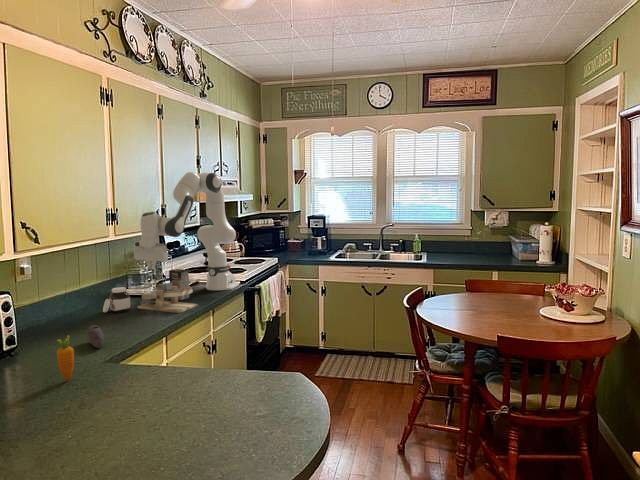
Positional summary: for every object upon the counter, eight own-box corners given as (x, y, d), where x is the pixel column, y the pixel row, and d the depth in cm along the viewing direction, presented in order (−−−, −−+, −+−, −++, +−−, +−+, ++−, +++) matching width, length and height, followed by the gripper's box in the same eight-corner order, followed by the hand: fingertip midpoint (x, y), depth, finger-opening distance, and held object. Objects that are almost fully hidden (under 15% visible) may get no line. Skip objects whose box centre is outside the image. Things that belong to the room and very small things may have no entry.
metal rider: (163, 291, 254) (162, 283, 254) (172, 291, 252) (171, 282, 252) (158, 293, 251) (157, 285, 250) (167, 292, 248) (166, 284, 248)
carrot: (58, 385, 154) (55, 340, 152) (59, 379, 158) (55, 335, 156) (76, 382, 156) (72, 337, 154) (75, 376, 160) (72, 333, 159)
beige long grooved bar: (153, 300, 260) (151, 288, 260) (193, 297, 250) (191, 284, 249) (143, 303, 253) (140, 291, 253) (183, 300, 242) (181, 288, 242)
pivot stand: (157, 301, 264) (156, 283, 263) (197, 305, 254) (196, 287, 252) (137, 308, 250) (136, 289, 249) (179, 313, 240) (178, 293, 239)
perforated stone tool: (107, 349, 188) (106, 332, 187) (92, 352, 185) (91, 334, 184) (100, 339, 200) (99, 323, 199) (86, 342, 197) (85, 325, 196)
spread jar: (133, 310, 246) (131, 288, 245) (113, 315, 237) (111, 292, 236) (118, 307, 253) (117, 285, 251) (98, 312, 243) (97, 289, 242)
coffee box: (169, 298, 272) (168, 270, 270) (178, 296, 277) (176, 268, 275) (181, 300, 267) (180, 271, 265) (190, 297, 273) (188, 269, 271)
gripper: (170, 243, 251) (171, 269, 252) (139, 241, 258) (141, 267, 260) (162, 244, 245) (163, 271, 246) (131, 243, 253) (132, 268, 254)
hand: (151, 269), depth 253 cm, fingers closed
